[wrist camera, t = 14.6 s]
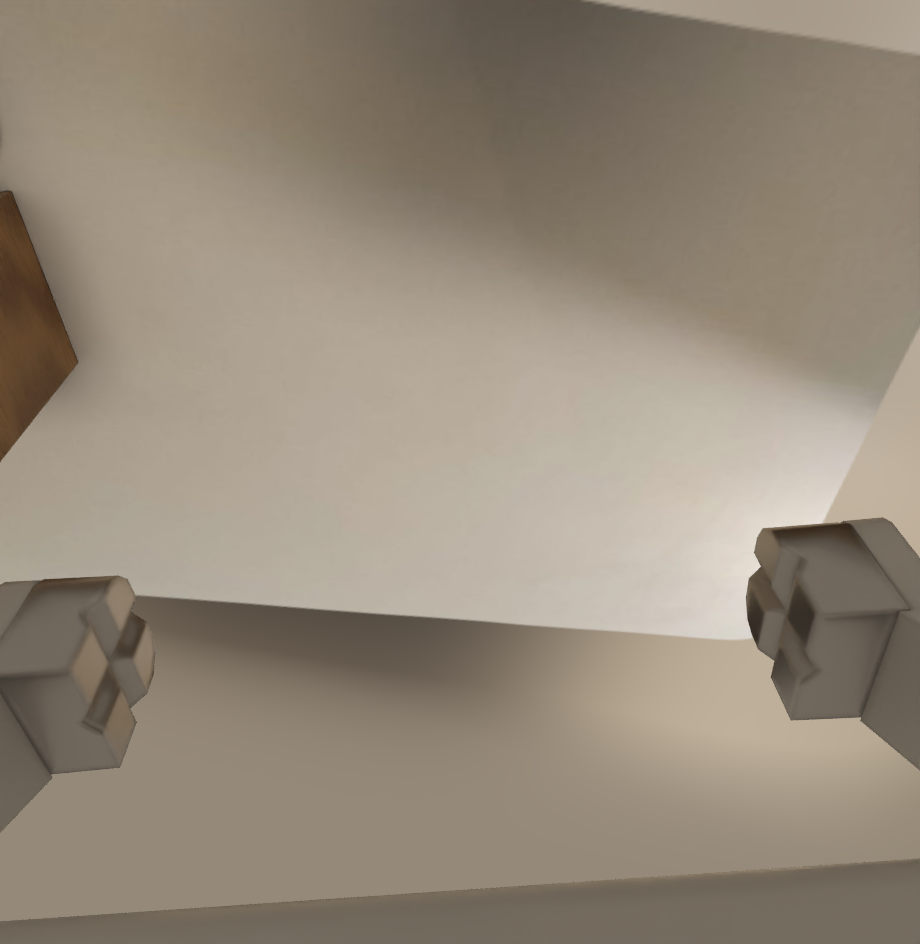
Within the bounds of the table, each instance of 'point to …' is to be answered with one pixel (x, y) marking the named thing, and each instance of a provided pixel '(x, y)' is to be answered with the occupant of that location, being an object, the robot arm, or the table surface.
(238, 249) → the table surface
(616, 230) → the table surface
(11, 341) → the oak stand
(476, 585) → the table surface
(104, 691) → the robot arm
